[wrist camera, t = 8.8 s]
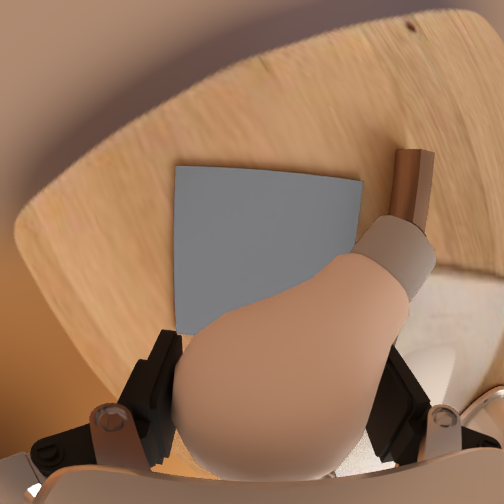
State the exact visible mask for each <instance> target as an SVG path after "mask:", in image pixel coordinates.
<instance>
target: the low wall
mask: <svg viewBox="0 0 504 504" xmlns="http://www.w3.org/2000/svg"><path fill="white" fill-rule="evenodd" d="M433 166H434V152H430V151H426V150H422V149H406V150H396V158H395V169H394V179H393V187H392V195H391V203H390V210H389V215H392V216H395V217H397V218H400V219H403V220H408V221H411V222H413V223H414V224H416V225H417V226H418V227H419V228H420V229H421V230H422V231H423V232H425V226H426V220H427V214H428V207H429V200H430V193H431V185H432V176H433ZM397 337H398V336H397ZM397 337H396V339H395V341H394V342H393V345H394V346H395V343H396V340H397Z"/></svg>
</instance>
